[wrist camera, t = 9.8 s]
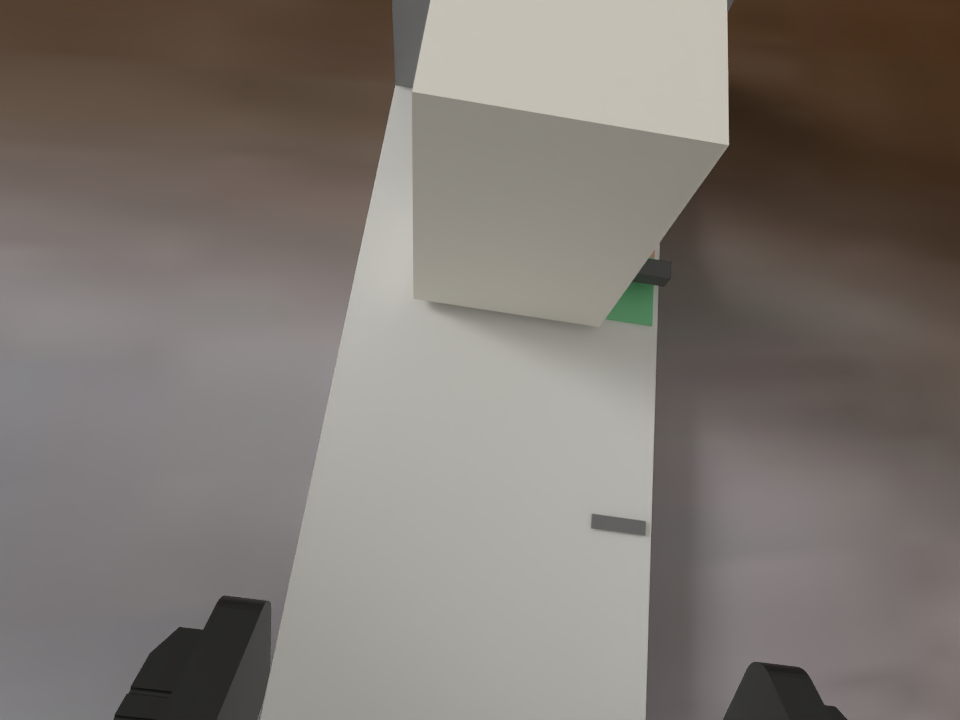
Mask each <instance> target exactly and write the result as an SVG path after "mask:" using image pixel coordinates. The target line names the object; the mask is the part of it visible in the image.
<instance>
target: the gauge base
mask: <svg viewBox="0 0 960 720" xmlns="http://www.w3.org/2000/svg"><path fill="white" fill-rule="evenodd" d="M733 1H734V0H727V12H728V10H729V8H730V7H731V5H732V3H733ZM429 5H430V0H392V7H393V33H394V58H395V83H396V85H395V90H394V95H393V99H392V104H391V109H390V113H389V118H388V123H387V128H386V132H385V137H384V142H383V146H382V151H381V156H380V160H379V165H378V170H377V174H376V179H375V184H374V188H373V193H372V198H371V202H370V207H369V212H368V216H367V221H366V226H365V230H364V235H363V240H362V245H361V249H360V254H359V259H358V263H357V268H356V273H355V277H354V282H353V287H352V291H351V296H350V301H349V305H348V310H347V315H346V319H345V324H344V329H343V333H342V338H341V343H340V347H339V352H338V357H337V362H336V366H335V371H334V376H333V380H332V385H331V390H330V394H329V399H328V404H327V408H326V413H325V418H324V422H323V427H322V432H321V436H320V441H319V446H318V450H317V455H316V460H315V464H314V469H313V474H312V479H311V483H310V488H309V493H308V497H307V502H306V507H305V511H304V516H303V521H302V525H301V530H300V535H299V539H298V544H297V549H296V553H295V558H294V563H293V567H292V572H291V577H290V581H289V586H288V591H287V595H286V600H285V605H284V610H283V614H282V619H281V624H280V628H279V633H278V638H277V642H276V647H275V652H274V656H273V661H272V666H271V670H270V675H269V680H268V684H267V689H266V694H265V698H264V703H263V708H262V712H261V717H260V720H645V719H646V686H647V652H648V619H649V586H650V552H651V519H652V486H653V452H654V419H655V386H656V352H657V319H658V286H656V285H650V284H644V283H637V282H631V283H630V285H629V286H628V288H627V289H626V290H625V292H624V293H623V295H622V296H621V298H620V299H619V300H618V302H617V303H616V305H615V306H614V307H613V309H612V310H611V312H610V313H609V314H608V316H607V317H606V319H605V320H604V321H603V323H602V324H601V326H600V327H595V326H588V325H582V324H575V323H569V322H562V321H556V320H549V319H542V318H536V317H529V316H523V315H516V314H510V313H503V312H497V311H490V310H484V309H477V308H471V307H464V306H458V305H451V304H444V303H438V302H431V301H425V300H418V299H413V171H412V89H413V84H414V79H415V74H416V69H417V64H418V59H419V54H420V49H421V44H422V39H423V34H424V29H425V25H426V20H427V15H428V10H429ZM659 252H660V243H659V244H658V246H657V247H656V248H655V250H654V251H653V253H652V254H651V255H650V257H649V258H650V259H656V260H659Z"/></svg>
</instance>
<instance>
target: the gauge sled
mask: <svg viewBox="0 0 960 720" xmlns="http://www.w3.org/2000/svg"><path fill="white" fill-rule="evenodd" d="M728 146H729V112H728V37H727V0H430V5H429V10H428V15H427V20H426V25H425V29H424V34H423V39H422V44H421V49H420V54H419V59H418V64H417V69H416V74H415V79H414V84H413V89H412V171H413V299H418V300H425V301H431V302H438V303H444V304H451V305H458V306H464V307H471V308H477V309H484V310H490V311H497V312H503V313H510V314H516V315H523V316H529V317H536V318H542V319H549V320H556V321H562V322H569V323H575V324H582V325H588V326H595V327H600V326H601V324H602V323H603V321H604V320H605V319H606V317H607V316H608V314H609V313H610V312H611V310H612V309H613V307H614V306H615V305H616V303H617V302H618V300H619V299H620V298H621V296H622V295H623V293H624V292H625V290H626V289H627V288H628V286H629V285H630V283H631V282H637V283H644V284H650V285H656V286H663V287H664V286H665V285H666V283H667V282H668V281H669V280H670V278H671V262H669V261H662V260H656V259H650V258H649V257H650V255H651V254H652V253H653V251H654V250H655V248H656V247H657V246H658V244H659V243H660V241H661V240H662V239H663V237H664V236H665V234H666V233H667V231H668V230H669V229H670V227H671V226H672V224H673V223H674V222H675V220H676V219H677V217H678V216H679V215H680V213H681V212H682V210H683V209H684V208H685V206H686V205H687V203H688V202H689V201H690V199H691V198H692V196H693V195H694V194H695V192H696V191H697V189H698V188H699V187H700V185H701V184H702V182H703V181H704V180H705V178H706V177H707V175H708V174H709V173H710V171H711V170H712V168H713V167H714V165H715V164H716V163H717V161H718V160H719V158H720V157H721V156H722V154H723V153H724V151H725V150H726V149H727V147H728Z"/></svg>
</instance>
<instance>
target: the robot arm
mask: <svg viewBox="0 0 960 720" xmlns="http://www.w3.org/2000/svg"><path fill="white" fill-rule="evenodd" d="M270 646H271V603H270V602H269V601H264V600H256V599H248V598H240V597H231V596H222V597H221V598H220V599H219V601H218V602H217V604H216V606H215V608H214V610H213V612H212V614H211V616H210V618H209V620H208V622H207V624H206V626H205V628H204V630H200V629H191V628H183V627H179V628H178V629H177V630H176V631H175V632H173V633H172V634H171V635H170V636H169V637H168V638H167V639H166V640H164V641H163V642H162V643H161V644H160V645H159V646H158V647H157V648H156V649H154V650H153V651H152V652H151V653H150V654H149V656H148V658H147V659H146V661H145V663H144V665H143V666H142V668H141V670H140V672H139V673H138V675H137V677H136V679H135V680H134V682H133V684H132V686H131V689H130V692H129V694H126V696H125V698H124V700H123V701H122V703H121V705H120V707H119V708H118V710H117V712H116V714H115V717H114V720H257V718H258V715H259V712H260V709H261V706H262V703H263V700H264V696H265V692H266V688H267V683H268V678H269V671H270ZM723 720H847V719H846V718H845V717H844V716H843V714H842V713H841V712H840V711H839V710H838V709H837V708H836V707H835V706H826V705H824V703H823V701H822V700H821V698H820V696H819V694H818V692H817V690H816V688H815V686H814V684H813V682H812V680H811V679H810V677H809V675H808V674H807V673H806V672H805V671H804V670H803V669H802V668H800V667H794V666H786V665H778V664H769V663H761V662H753V663H751V664H750V665H749V667H748V668H747V670H746V672H745V674H744V677H743V679H742V681H741V683H740V685H739V687H738V689H737V691H736V693H735V695H734V698H733V700H732V702H731V704H730V706H729V708H728V710H727V712H726V714H725V717H724V719H723Z"/></svg>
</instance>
